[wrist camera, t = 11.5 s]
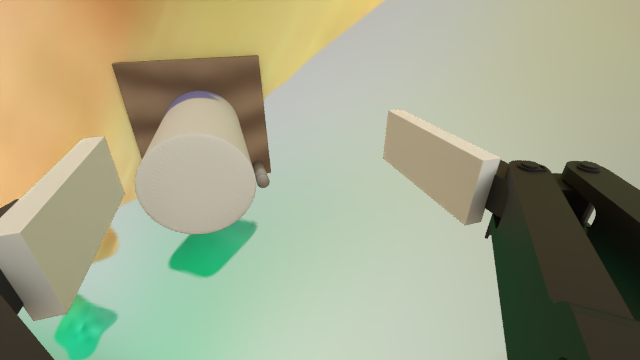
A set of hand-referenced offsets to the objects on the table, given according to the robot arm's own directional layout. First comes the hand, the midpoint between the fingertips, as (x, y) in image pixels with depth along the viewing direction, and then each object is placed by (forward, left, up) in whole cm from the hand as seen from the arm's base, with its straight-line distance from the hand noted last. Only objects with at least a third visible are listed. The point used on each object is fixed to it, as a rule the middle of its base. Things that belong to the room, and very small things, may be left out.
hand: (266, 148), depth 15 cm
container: (+7, -5, -32) cm, 33 cm away
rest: (+8, -5, -33) cm, 35 cm away
